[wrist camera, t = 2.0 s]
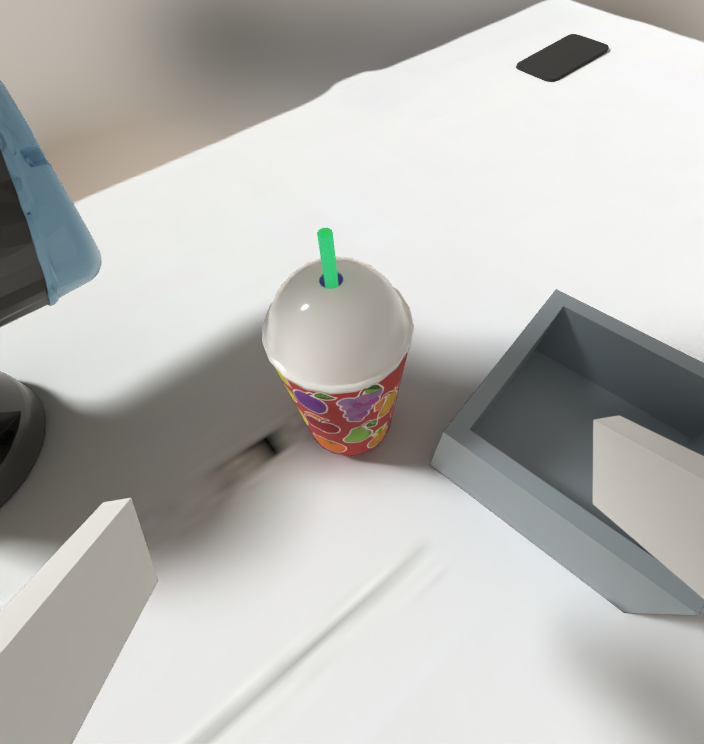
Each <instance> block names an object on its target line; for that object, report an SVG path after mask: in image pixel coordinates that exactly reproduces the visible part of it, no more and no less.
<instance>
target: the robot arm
mask: <svg viewBox="0 0 704 744" xmlns="http://www.w3.org/2000/svg"><path fill="white" fill-rule="evenodd" d="M100 267H101V254H100V251H99V249H98V247H97V245H96V243H95V241H94V239H93V238H92V236H91V234H90V232H89V230H88V229H87V227H86V225H85V223H84V221H83V220H82V218H81V216H80V214H79V213H78V211H77V209H76V207H75V206H74V204H73V202H72V200H71V199H70V197H69V195H68V194H67V192H66V190H65V188H64V186H63V185H62V183H61V181H60V180H59V178H58V177H57V175H56V173H55V171H54V169H53V168H52V166H51V164H50V163H49V162H48V160H47V158H46V156H45V154H44V152H43V151H42V149H41V147H40V146H39V144H38V142H37V140H36V139H35V137H34V135H33V133H32V131H31V129H30V128H29V126H28V124H27V122H26V121H25V119H24V117H23V116H22V114H21V112H20V110H19V109H18V107H17V105H16V104H15V102H14V100H13V99H12V97H11V95H10V94H9V92H8V91H7V89H6V87H5V86H4V84H3V83H2V82H1V81H0V327H2V326H4V325H6V324H8V323H10V322H12V321H14V320H17V319H19V318H21V317H23V316H25V315H27V314H29V313H31V312H33V311H35V310H37V309H39V308H41V307H43V306H46V305H50V306H52V305H54V304H55V303H56V302H57V301H58V299H59V298H60V297H62V296H64V295H65V294H67V293H69V292H71V291H73V290H75V289H76V288H78V287H80V286H82V285H84V284H86V283H87V282H89V281H91V280H92V279H93V278H94V277H96V275H97V274H98V272H99V269H100ZM44 432H45V415H44V410H43V407H42V404H41V402H40V400H39V398H38V397H37V396H36V394H35V393H34V392H33V391H32V390H31V389H30V388H28V387H27V386H25V385H24V384H22V383H20V382H19V381H17V380H16V379H14V378H12V377H11V376H9V375H7V374H5V373H3V372H0V507H1V506H2V505H3V504H4V503H5V502H6V501H7V500H8V499H9V498H10V497H11V496H12V494H13V493H14V492H15V491H16V490H17V488H18V487H19V486H20V485H21V483H22V482H23V481H24V479H25V478H26V476H27V475H28V473H29V471H30V470H31V468H32V466H33V464H34V462H35V460H36V458H37V456H38V454H39V451H40V448H41V445H42V442H43V438H44ZM593 505H594V506H596V507H597V508H598V509H599V510H600V511H601V512H603V513H604V514H605V515H606V516H607V517H608V518H610V519H611V520H612V521H613V522H614V523H615V524H617V525H618V526H619V527H620V528H621V529H622V530H624V531H625V532H626V533H627V534H628V535H629V536H631V537H632V538H633V539H634V540H635V541H636V542H638V543H639V544H640V545H641V546H642V547H643V548H645V549H646V550H647V551H648V552H649V553H650V554H652V555H653V556H654V557H655V558H656V559H657V560H659V561H660V562H661V563H662V564H663V565H664V566H666V567H667V568H668V569H669V570H670V571H671V572H673V573H674V574H675V575H676V576H677V577H678V578H680V579H681V580H682V581H683V582H684V583H685V584H687V585H688V586H689V587H690V588H691V589H692V590H694V591H695V592H696V593H697V594H698V595H699V596H701V597H702V598H703V599H704V456H702V455H700V454H698V453H696V452H694V451H692V450H690V449H688V448H686V447H684V446H682V445H679V444H677V443H675V442H673V441H671V440H669V439H667V438H665V437H663V436H661V435H659V434H657V433H655V432H653V431H650V430H648V429H646V428H644V427H642V426H640V425H638V424H636V423H634V422H632V421H630V420H628V419H626V418H624V417H622V416H619V415H618V416H612V417H606V418H600V419H594V420H593ZM157 582H158V578H157V575H156V572H155V569H154V566H153V563H152V560H151V557H150V554H149V550H148V547H147V544H146V541H145V538H144V535H143V532H142V529H141V526H140V523H139V520H138V517H137V513H136V510H135V507H134V504H133V501H132V498H126V499H120V500H114V501H108V502H103V503H102V504H101V505H100V506H99V507H98V508H97V509H96V510H95V511H94V513H93V514H92V515H91V516H90V517H89V518H88V519H87V520H86V521H85V522H84V523H83V524H82V525H81V526H80V527H79V528H78V529H77V530H76V532H75V533H74V534H73V535H72V536H71V537H70V538H69V539H68V540H67V541H66V542H65V543H64V544H63V545H62V546H61V547H60V548H59V550H58V551H57V552H56V553H55V554H54V555H53V556H52V557H51V558H50V559H49V560H48V561H47V562H46V563H45V564H44V565H43V566H42V567H41V569H40V570H39V571H38V572H37V573H36V574H35V575H34V576H33V577H32V578H31V579H30V580H29V581H28V582H27V583H26V584H25V585H24V587H23V588H22V589H21V590H20V591H19V592H18V593H17V594H16V595H15V596H14V597H13V598H12V599H11V600H10V601H9V602H8V603H7V605H6V606H5V607H4V608H3V609H2V610H1V611H0V744H72V743H73V741H74V739H75V737H76V735H77V733H78V731H79V730H80V728H81V726H82V724H83V722H84V720H85V718H86V716H87V714H88V713H89V711H90V709H91V707H92V705H93V703H94V701H95V699H96V697H97V695H98V694H99V692H100V690H101V688H102V686H103V684H104V682H105V680H106V678H107V677H108V675H109V673H110V671H111V669H112V667H113V665H114V663H115V661H116V659H117V658H118V656H119V654H120V652H121V650H122V648H123V646H124V644H125V642H126V641H127V639H128V637H129V635H130V633H131V631H132V629H133V627H134V625H135V624H136V622H137V620H138V618H139V616H140V614H141V612H142V610H143V608H144V606H145V605H146V603H147V601H148V599H149V597H150V595H151V593H152V591H153V589H154V588H155V586H156V584H157Z"/></svg>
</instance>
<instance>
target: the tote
mask: <svg viewBox="0 0 704 744" xmlns="http://www.w3.org/2000/svg"><path fill="white" fill-rule="evenodd" d="M618 415H619V416H622V417H624V418H626V419H628V420H630V421H632V422H634V423H636V424H638V425H640V426H642V427H644V428H646V429H648V430H650V431H653V432H655V433H657V434H659V435H661V436H663V437H665V438H667V439H669V440H671V441H673V442H675V443H677V444H679V445H682V446H684V447H686V448H688V449H690V450H692V451H694V452H696V453H698V454H700V455H702V456H704V363H702V362H700V361H698V360H696V359H694V358H692V357H690V356H688V355H686V354H684V353H682V352H680V351H678V350H676V349H674V348H672V347H670V346H668V345H666V344H664V343H662V342H660V341H658V340H656V339H654V338H652V337H651V336H649V335H647V334H645V333H643V332H641V331H639V330H637V329H635V328H633V327H631V326H629V325H627V324H625V323H623V322H621V321H619V320H617V319H615V318H613V317H611V316H609V315H607V314H605V313H603V312H601V311H599V310H597V309H595V308H593V307H591V306H589V305H587V304H585V303H583V302H581V301H579V300H577V299H575V298H573V297H571V296H569V295H567V294H565V293H563V292H561V291H559V290H557V289H556V290H555V291H554V293H553V294H552V295H551V296H550V298H549V299H548V300H547V301H546V303H545V304H544V305H543V306H542V308H541V309H540V310H539V311H538V313H537V314H536V315H535V317H534V318H533V319H532V320H531V322H530V323H529V324H528V325H527V327H526V328H525V329H524V330H523V332H522V333H521V334H520V335H519V337H518V338H517V339H516V341H515V342H514V343H513V344H512V346H511V347H510V348H509V349H508V351H507V352H506V353H505V354H504V356H503V357H502V358H501V359H500V361H499V362H498V363H497V364H496V366H495V367H494V368H493V370H492V371H491V372H490V373H489V375H488V376H487V377H486V378H485V380H484V381H483V382H482V383H481V385H480V386H479V387H478V388H477V390H476V391H475V392H474V394H473V395H472V396H471V397H470V399H469V400H468V401H467V402H466V404H465V405H464V406H463V407H462V409H461V410H460V411H459V412H458V414H457V415H456V416H455V417H454V419H453V420H452V421H451V423H450V424H449V425H448V426H447V428H446V429H445V430H444V431H443V433H442V436H441V438H440V441H439V444H438V446H437V449H436V451H435V454H434V456H433V459H432V461H431V464H430V465H431V466H433V467H434V468H435V469H436V470H438V471H439V472H440V473H442V474H443V475H444V476H446V477H447V478H448V479H450V480H451V481H452V482H453V483H455V484H456V485H457V486H459V487H460V488H461V489H463V490H464V491H465V492H467V493H468V494H469V495H471V496H472V497H473V498H474V499H476V500H477V501H478V502H480V503H481V504H482V505H484V506H485V507H486V508H488V509H489V510H490V511H491V512H493V513H494V514H495V515H497V516H498V517H499V518H501V519H502V520H503V521H505V522H506V523H507V524H509V525H510V526H511V527H512V528H514V529H515V530H516V531H518V532H519V533H520V534H522V535H523V536H524V537H526V538H527V539H528V540H529V541H531V542H532V543H533V544H535V545H536V546H537V547H539V548H540V549H541V550H543V551H544V552H545V553H547V554H548V555H549V556H550V557H552V558H553V559H554V560H556V561H557V562H558V563H560V564H561V565H562V566H564V567H565V568H566V569H567V570H569V571H570V572H571V573H573V574H574V575H575V576H577V577H578V578H579V579H581V580H582V581H583V582H585V583H586V584H587V585H588V586H590V587H591V588H592V589H594V590H595V591H596V592H598V593H599V594H600V595H602V596H603V597H604V598H605V599H607V600H608V601H609V602H611V603H612V604H613V605H615V606H616V607H617V608H619V609H620V610H621V611H623V612H624V613H646V614H676V615H700V612H701V609H702V607H703V604H704V599H703V598H702V597H701V596H699V595H698V594H697V593H696V592H695V591H694V590H692V589H691V588H690V587H689V586H688V585H687V584H685V583H684V582H683V581H682V580H681V579H680V578H678V577H677V576H676V575H675V574H674V573H673V572H671V571H670V570H669V569H668V568H667V567H666V566H664V565H663V564H662V563H661V562H660V561H659V560H657V559H656V558H655V557H654V556H653V555H652V554H650V553H649V552H648V551H647V550H646V549H645V548H643V547H642V546H641V545H640V544H639V543H638V542H636V541H635V540H634V539H633V538H632V537H631V536H629V535H628V534H627V533H626V532H625V531H624V530H622V529H621V528H620V527H619V526H618V525H617V524H615V523H614V522H613V521H612V520H611V519H610V518H608V517H607V516H606V515H605V514H604V513H603V512H601V511H600V510H599V509H598V508H597V507H596V506H594V505H593V420H594V419H600V418H606V417H612V416H618Z"/></svg>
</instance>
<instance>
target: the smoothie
mask: <svg viewBox="0 0 704 744" xmlns="http://www.w3.org/2000/svg"><path fill="white" fill-rule="evenodd" d="M317 235H318V242H319V248H320V255H321V259H318V260H315V261H312V262H309V263H307V264H306V265H304V266H303V267H301V268H299V269H298V270H296V271H295V272H293V273H292V274H291V275H290V276H289V277H288V278H287V280H286V281H285V282H284V283H283V284H282V285H281V287H280V288H279V289H278V291H277V293H276V296H275V298H274V300H273V302H272V303H271V305H270V307H269V309H268V312H267V314H266V316H265V319H264V321H263V330H262V343H263V346H264V348H265V351H266V354H267V356H268V359H269V361H270V363H271V364H272V365H273V366H274V367H275V368H276V370H277V372H278V374H279V376H280V378H281V380H282V381H283V383H284V385H285V387H286V389H287V390H288V392H289V394H290V396H291V398H292V399H293V401H294V403H295V405H296V406H297V408H298V410H299V412H300V414H301V415H302V417H303V419H304V421H305V423H306V424H307V426H308V428H309V430H310V432H311V433H312V435H313V437H314V439H315V440H316V441H317V442H318V443H319V444H320V445H321V446H322V447H323V448H325V449H327V450H329V451H331V452H333V453H335V454H341V455H347V456H349V455H356V454H362V453H364V452H366V451H368V450H371V449H373V448H374V447H375V446H376V445H377V444H378V443H379V442H381V441H382V440H383V438H384V437H385V435H386V433H387V431H388V429H389V426H390V422H391V418H392V414H393V410H394V406H395V402H396V398H397V394H398V390H399V386H400V382H401V377H402V373H403V369H404V365H405V361H406V357H407V352H408V350H409V348H410V345H411V339H412V334H413V329H414V325H413V320H412V316H411V311H410V307H409V306H408V304H407V303H406V301H405V300H404V298H403V297H402V295H401V293H400V292H399V291H398V290H397V289H395V288H394V287H393V286H392V284H391V283H390V281H389V280H388V279H387V278H386V277H385V276H383V275H382V274H381V273H380V272H378V271H377V270H376V269H374V268H373V267H372V266H371V265H368V264H366V263H363V262H361V261H358V260H356V259H352V258H345V257H335V249H334V241H333V233H332V230H331V229H329V228H322V229H320V230H319V231H318V232H317Z"/></svg>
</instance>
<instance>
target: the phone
mask: <svg viewBox="0 0 704 744" xmlns="http://www.w3.org/2000/svg"><path fill="white" fill-rule="evenodd" d="M608 48H609V47H608V45H606V44H604V43H601V42H598V41H595V40H592V39H589V38H586V37H583V36H580V35H577V34H571V35H568V36H566V37H564V38H562V39H561V40H559V41H557V42H555V43H553V44H551V45H550V46H548V47H546V48H544V49H542V50H540V51H539V52H537V53H535V54H533V55H531V56H529V57H528V58H526V59H524V60H522V61H520V62H519V63H518V64H517V66H516V68H517V69H518V70H521V71H523V72H525V73H528V74H530V75H532V76H535V77H537V78H540V79H542V80H545V81H548V82H555V81H557V80H559V79H561V78H563V77H564V76H566V75H568V74H570V73H571V72H573V71H575V70H577V69H578V68H580V67H582V66H584V65H585V64H587V63H589V62H591V61H592V60H594V59H596V58H598V57H599V56H601V55H603V54H605V53H606V52H607V50H608Z"/></svg>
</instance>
